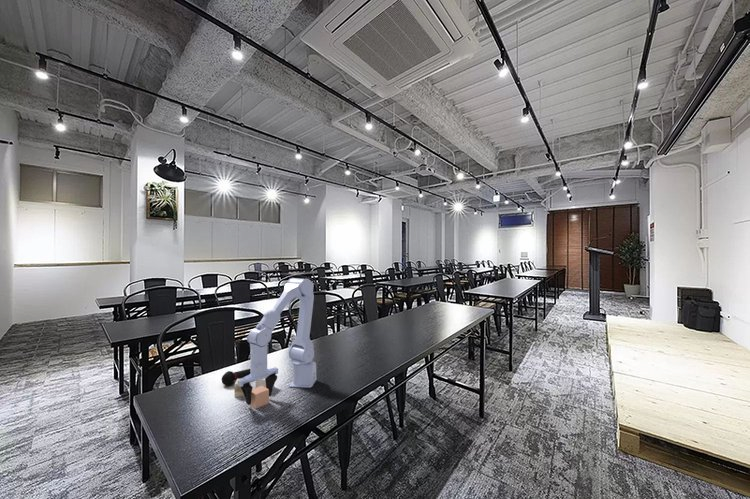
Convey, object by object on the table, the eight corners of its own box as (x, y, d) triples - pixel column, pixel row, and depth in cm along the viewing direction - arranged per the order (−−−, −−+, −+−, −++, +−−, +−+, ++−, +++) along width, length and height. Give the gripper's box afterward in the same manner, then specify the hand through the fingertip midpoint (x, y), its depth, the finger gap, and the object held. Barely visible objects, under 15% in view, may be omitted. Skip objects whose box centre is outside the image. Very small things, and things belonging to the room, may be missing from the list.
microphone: (256, 375, 135) (219, 388, 117) (254, 363, 137) (217, 374, 118) (265, 373, 133) (229, 386, 115) (263, 361, 135) (227, 371, 117)
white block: (274, 387, 117) (274, 374, 117) (266, 392, 112) (266, 380, 112) (263, 385, 118) (263, 373, 118) (255, 391, 113) (255, 378, 113)
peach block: (261, 398, 107) (261, 385, 107) (268, 403, 104) (268, 389, 104) (248, 404, 103) (248, 390, 103) (255, 409, 100) (255, 394, 100)
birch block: (250, 389, 114) (250, 377, 115) (248, 395, 110) (248, 382, 110) (237, 391, 113) (237, 378, 113) (234, 397, 108) (234, 384, 108)
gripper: (244, 370, 96) (244, 411, 96) (282, 358, 107) (282, 395, 107) (234, 365, 100) (234, 404, 100) (272, 354, 111) (272, 389, 111)
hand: (258, 399), depth 104 cm, fingers open, 7 cm apart
